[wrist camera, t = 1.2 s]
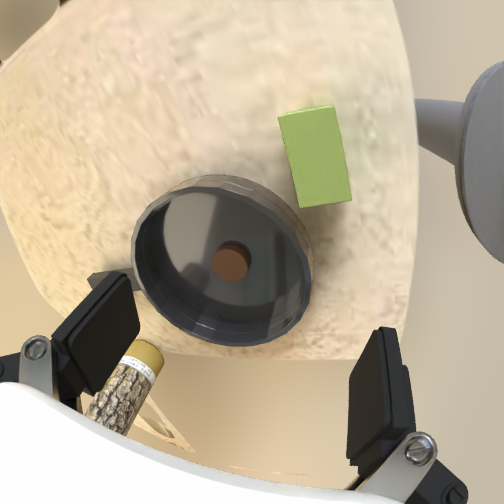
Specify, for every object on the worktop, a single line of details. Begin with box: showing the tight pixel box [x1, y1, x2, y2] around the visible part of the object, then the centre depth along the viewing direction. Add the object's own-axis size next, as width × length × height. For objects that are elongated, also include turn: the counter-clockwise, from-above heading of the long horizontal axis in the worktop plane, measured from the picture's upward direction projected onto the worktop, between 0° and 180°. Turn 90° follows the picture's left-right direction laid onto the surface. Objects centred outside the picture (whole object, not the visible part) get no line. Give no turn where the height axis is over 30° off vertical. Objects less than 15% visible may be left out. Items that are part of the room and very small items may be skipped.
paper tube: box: [84, 340, 164, 436], centre depth 35 cm, size 7×7×25 cm
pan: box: [131, 175, 314, 346], centre depth 30 cm, size 19×19×4 cm
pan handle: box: [87, 268, 142, 291], centre depth 35 cm, size 10×2×2 cm, turn 105°
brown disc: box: [211, 245, 250, 281], centre depth 31 cm, size 4×4×1 cm
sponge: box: [278, 105, 352, 208], centre depth 22 cm, size 4×7×6 cm, turn 15°
